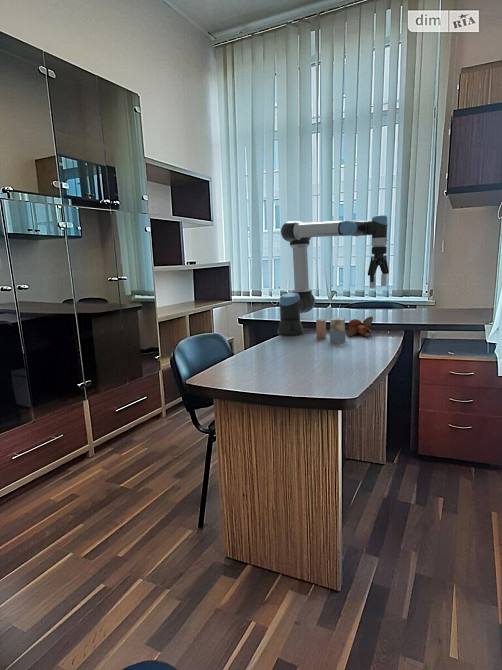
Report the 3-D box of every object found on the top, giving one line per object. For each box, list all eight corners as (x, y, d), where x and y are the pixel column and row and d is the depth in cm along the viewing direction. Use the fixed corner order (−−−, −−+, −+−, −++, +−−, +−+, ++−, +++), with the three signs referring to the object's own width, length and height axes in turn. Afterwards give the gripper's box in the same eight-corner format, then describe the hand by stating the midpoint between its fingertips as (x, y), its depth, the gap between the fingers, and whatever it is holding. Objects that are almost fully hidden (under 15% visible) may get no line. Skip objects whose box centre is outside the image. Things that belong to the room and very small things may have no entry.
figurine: (382, 331, 226) (364, 322, 238) (381, 318, 221) (362, 309, 233) (356, 347, 220) (338, 337, 232) (354, 335, 216) (335, 325, 228)
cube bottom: (329, 342, 213) (329, 330, 212) (335, 339, 217) (335, 328, 216) (340, 343, 209) (340, 331, 208) (345, 340, 214) (345, 329, 213)
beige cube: (330, 331, 211) (330, 319, 210) (333, 329, 216) (333, 317, 215) (341, 331, 208) (341, 320, 207) (344, 329, 213) (344, 318, 212)
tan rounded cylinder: (314, 338, 223) (314, 320, 221) (319, 336, 227) (319, 319, 225) (323, 339, 220) (322, 321, 218) (327, 337, 224) (327, 319, 222)
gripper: (375, 246, 199) (374, 289, 203) (395, 245, 217) (394, 285, 221) (361, 246, 204) (360, 289, 208) (382, 246, 222) (381, 285, 226)
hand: (378, 287), depth 215 cm, fingers open, 13 cm apart
